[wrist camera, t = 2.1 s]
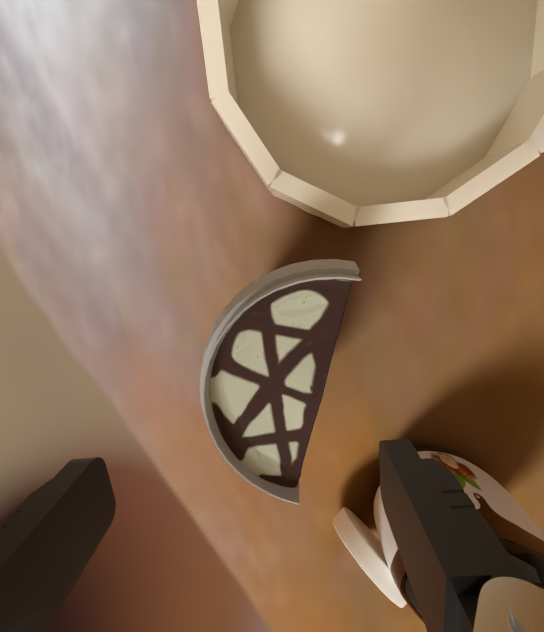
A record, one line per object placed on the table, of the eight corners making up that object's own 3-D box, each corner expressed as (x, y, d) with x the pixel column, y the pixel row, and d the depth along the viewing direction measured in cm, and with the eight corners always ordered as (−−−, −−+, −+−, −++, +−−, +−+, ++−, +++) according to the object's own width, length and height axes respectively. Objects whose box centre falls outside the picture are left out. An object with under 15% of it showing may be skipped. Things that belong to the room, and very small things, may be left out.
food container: (245, 233, 22) (211, 233, 12) (331, 251, 22) (365, 265, 12) (217, 390, 25) (173, 488, 15) (293, 406, 25) (296, 513, 15)
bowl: (562, -186, 16) (662, -338, 12) (526, 208, 21) (588, 201, 16) (196, -115, 17) (166, -228, 13) (240, 238, 22) (228, 239, 18)
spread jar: (507, 469, 26) (679, 654, 14) (437, 565, 29) (534, 782, 17) (373, 416, 25) (442, 565, 14) (315, 520, 28) (333, 713, 17)
